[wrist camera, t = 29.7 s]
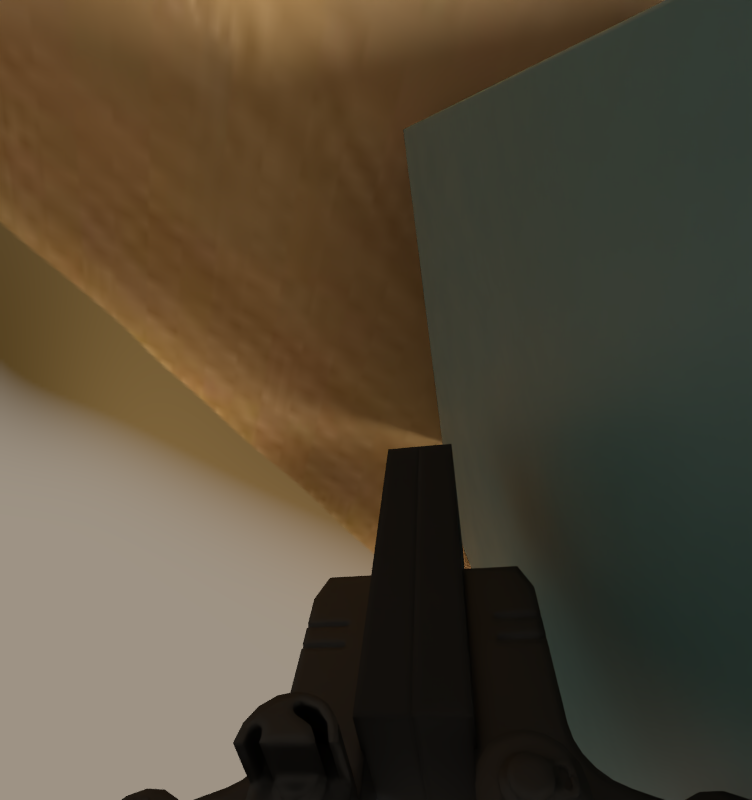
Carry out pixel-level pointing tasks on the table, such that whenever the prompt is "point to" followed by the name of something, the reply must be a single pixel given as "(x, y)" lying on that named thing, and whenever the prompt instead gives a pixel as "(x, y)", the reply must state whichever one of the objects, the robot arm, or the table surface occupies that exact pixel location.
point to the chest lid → (609, 373)
